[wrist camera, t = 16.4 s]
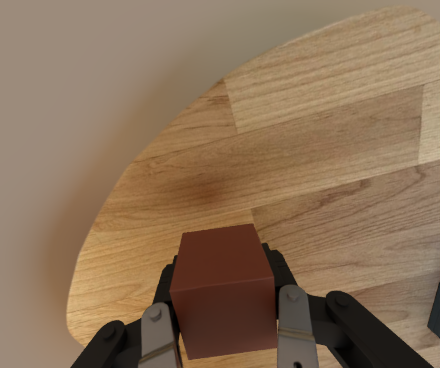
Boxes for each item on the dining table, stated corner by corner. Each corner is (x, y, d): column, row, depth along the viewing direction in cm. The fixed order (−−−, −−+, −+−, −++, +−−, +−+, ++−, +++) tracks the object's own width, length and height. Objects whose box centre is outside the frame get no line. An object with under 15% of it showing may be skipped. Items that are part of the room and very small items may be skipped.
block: (182, 232, 13) (168, 291, 9) (253, 222, 13) (274, 276, 9) (194, 287, 15) (188, 360, 10) (258, 278, 15) (278, 348, 10)
